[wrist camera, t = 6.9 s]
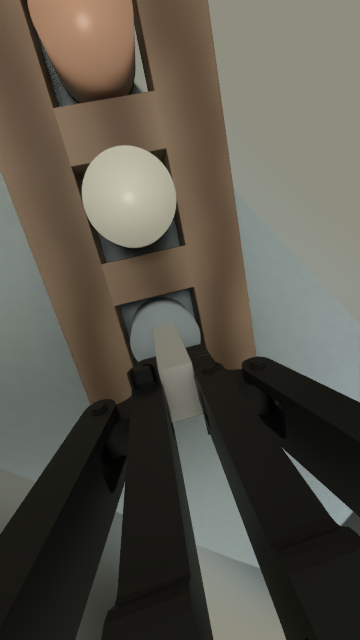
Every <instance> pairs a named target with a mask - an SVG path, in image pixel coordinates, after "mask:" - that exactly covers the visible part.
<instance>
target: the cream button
mask: <svg viewBox="0 0 360 640" xmlns="http://www.w3.org/2000/svg"><path fill="white" fill-rule="evenodd" d="M82 201H83V205H84V209H85V212H86V214H87V217H88V218H89V220H90V222H91V224H92V225H93V226H94V228H95V229H96V230H97V231H98V232H99V233H100V234H101V235H102V236H103V237H105V238H106V239H108V240H109V241H111V242H113V243H115V244H118V245H121V246H123V247H127V248H142V247H146V246H148V245H150V244H152V243H154V242H155V241H156V240H157V239H159V238H160V237H161V236H162V235H163V234H164V233H165V232H166V231H167V229H168V228H169V226H170V224H171V222H172V220H173V217H174V214H175V210H176V191H175V187H174V183H173V180H172V178H171V176H170V174H169V172H168V170H167V169H166V167H165V166H164V165H163V163H162V162H161V161H160V160H159V159H158V158H157V157H155V156H154V155H153V154H151V153H150V152H148V151H146V150H144V149H142V148H139V147H135V146H129V145H122V146H115V147H112V148H109V149H107V150H105V151H103V152H102V153H100V154H99V155H98V156H97V157H95V158H94V160H93V161H92V162H91V163H90V165H89V167H88V168H87V170H86V173H85V175H84V179H83V184H82Z"/></svg>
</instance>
